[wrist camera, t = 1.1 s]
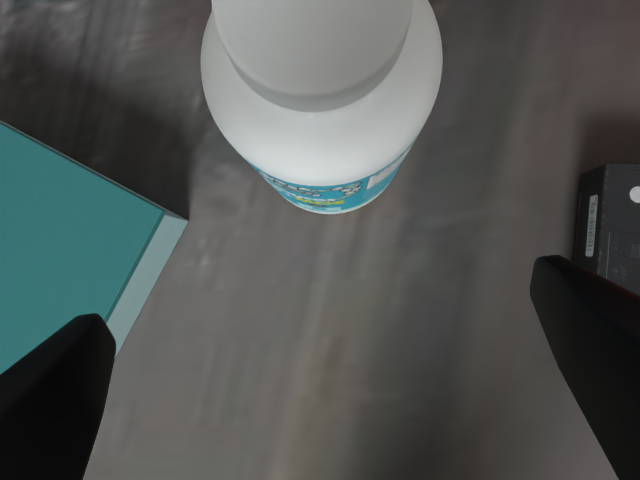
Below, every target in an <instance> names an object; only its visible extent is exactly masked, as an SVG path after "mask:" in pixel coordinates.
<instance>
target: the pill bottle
mask: <svg viewBox="0 0 640 480" xmlns="http://www.w3.org/2000/svg"><path fill="white" fill-rule="evenodd" d="M442 62H443V55H442V42H441V36H440V31H439V27H438V24H437V21H436V18H435V15H434V12H433V10H432V7H431V5H430V3H429V1H428V0H212V12H211V15H210V17H209V20H208V22H207V26H206V29H205V32H204V37H203V42H202V48H201V76H202V84H203V89H204V94H205V97H206V101H207V104H208V107H209V110H210V112H211V114H212V117H213V119H214V121H215V122H216V124H217V126H218V127H219V129H220V131H221V132H222V134H223V135H224V137H225V138H226V139H227V140H228V142H229V143H230V144H231V145H232V146H233V147H234V148H235V150H236V151H237V152H238V153H239V154H240V155H241V156H242V157H243V158H244V159H245V160H246V161H247V162H248V163H249V164H251V165H252V166H253V167H254V168H255V169H256V170H257V171H258V172H259V173H260V174H261V175H262V176H263V178H264V179H265V180H266V181H267V182H268V183H270V184H271V185H272V186H273V187H274V189H275V190H277V191H278V192H279V193H280V194H281V195H282V196H283V197H284V198H285V199H287V200H288V201H290V202H291V203H293V204H294V205H296V206H298V207H300V208H302V209H305V210H307V211H311V212H315V213H321V214H338V213H345V212H349V211H352V210H355V209H358V208H360V207H362V206H364V205H366V204H368V203H369V202H371V201H372V200H374V199H375V198H376V197H377V196H379V195H380V194H381V193H382V192H383V191H384V189H385V188H386V187H387V186H388V185H389V183H390V182H391V181H392V179H393V178H394V176H395V174H396V173H397V171H398V169H399V168H400V166H401V164H402V162H403V161H404V159H405V157H406V156H407V154H408V152H409V151H410V149H411V147H412V145H413V144H414V142H415V140H416V139H417V137H418V135H419V133H420V132H421V130H422V128H423V126H424V124H425V122H426V120H427V118H428V116H429V115H430V113H431V111H432V108H433V105H434V103H435V100H436V97H437V94H438V90H439V86H440V82H441V74H442Z"/></svg>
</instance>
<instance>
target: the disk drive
mask: <svg viewBox="0 0 640 480" xmlns="http://www.w3.org/2000/svg"><path fill="white" fill-rule="evenodd" d="M574 263H576V264H578V265H580V266H582V267H584V268H586V269H588V270H590V271H592V272H594V273H596V274H598V275H600V276H602V277H604V278H606V279H608V280H610V281H612V282H614V283H616V284H618V285H620V286H622V287H624V288H626V289H628V290H630V291H632V292H634V293H636V294H638V295H640V164H635V165H632V164H618V163H607V164H604V165H602V166H599V167H597V168H594V169H592V170H590V171H587V172H584V173H582V175H581V187H580V199H579V205H578V214H577V227H576V243H575V255H574Z"/></svg>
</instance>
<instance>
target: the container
mask: <svg viewBox="0 0 640 480" xmlns="http://www.w3.org/2000/svg"><path fill="white" fill-rule="evenodd" d="M187 223H188V220H186V219H184V218H182V217H181V216H179V215H177V214H175V213H173V212H171V211H169V210H168V209H166V208H164V207H162V206H160V205H158V204H156V203H154V202H153V201H151V200H149V199H147V198H145V197H143V196H141V195H140V194H138V193H136V192H134V191H132V190H130V189H128V188H126V187H125V186H123V185H121V184H119V183H117V182H115V181H113V180H112V179H110V178H108V177H106V176H104V175H102V174H100V173H98V172H97V171H95V170H93V169H91V168H89V167H87V166H85V165H84V164H82V163H80V162H78V161H76V160H74V159H72V158H70V157H69V156H67V155H65V154H63V153H61V152H59V151H57V150H55V149H54V148H52V147H50V146H48V145H46V144H44V143H42V142H41V141H39V140H37V139H35V138H33V137H31V136H29V135H27V134H26V133H24V132H22V131H20V130H18V129H16V128H14V127H13V126H11V125H9V124H7V123H5V122H2V121H0V374H2V373H3V372H4V371H6V370H7V369H8V368H9V367H11V366H12V365H13V364H15V363H16V362H17V361H19V360H20V359H21V358H23V357H24V356H25V355H26V354H28V353H29V352H30V351H32V350H33V349H34V348H36V347H37V346H38V345H39V344H41V343H42V342H43V341H45V340H46V339H47V338H49V337H50V336H51V335H52V334H54V333H55V332H56V331H58V330H59V329H60V328H62V327H63V326H64V325H65V324H67V323H68V322H69V321H71V320H72V319H73V318H75V317H76V316H78V315H83V314H91V313H97V314H99V315H100V316H101V317H102V318H103V320H104V321H105V323H106V325H107V326H108V328H109V330H110V332H111V333H112V335H113V337H114V338H115V341H116V354H115V358H116V356H117V354H118V352H119V350H120V348H121V347H122V345H123V343H124V341H125V339H126V337H127V335H128V333H129V332H130V330H131V328H132V326H133V324H134V322H135V320H136V318H137V317H138V315H139V313H140V311H141V309H142V307H143V305H144V303H145V302H146V300H147V298H148V296H149V294H150V292H151V290H152V288H153V287H154V285H155V283H156V281H157V279H158V277H159V275H160V273H161V272H162V270H163V268H164V266H165V264H166V262H167V260H168V258H169V257H170V255H171V253H172V251H173V249H174V247H175V245H176V243H177V242H178V240H179V238H180V236H181V234H182V232H183V230H184V228H185V227H186V225H187ZM114 360H115V359H114Z"/></svg>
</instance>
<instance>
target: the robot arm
mask: <svg viewBox="0 0 640 480" xmlns="http://www.w3.org/2000/svg"><path fill="white" fill-rule="evenodd" d="M530 296H531V300H532V302H533V305H534V308H535V310H536V313H537V315H538V318H539V320H540V323H541V325H542V328H543V330H544V333H545V335H546V338H547V340H548V343H549V345H550V348H551V350H552V353H553V355H554V358H555V360H556V362H557V365H558V367H559V369H560V371H561V373H562V375H563V377H564V379H565V381H566V382H567V384H568V386H569V388H570V390H571V392H572V393H573V395H574V397H575V399H576V401H577V403H578V405H579V406H580V408H581V410H582V412H583V414H584V416H585V418H586V419H587V421H588V423H589V425H590V427H591V429H592V431H593V432H594V434H595V436H596V438H597V440H598V442H599V444H600V445H601V447H602V449H603V451H604V453H605V455H606V457H607V458H608V460H609V462H610V464H611V466H612V468H613V469H614V471H615V473H616V475H617V477H618V479H619V480H640V295H638V294H636V293H634V292H632V291H630V290H628V289H626V288H624V287H622V286H620V285H618V284H616V283H614V282H612V281H610V280H608V279H606V278H604V277H602V276H600V275H598V274H596V273H594V272H592V271H590V270H588V269H586V268H584V267H582V266H580V265H578V264H576V263H574V262H572V261H570V260H568V259H566V258H564V257H562V256H560V255H550V256H542V257H539V258H537V259H536V260H535V263H534V267H533V273H532V279H531V285H530ZM115 354H116V341H115V338H114V337H113V335H112V333H111V332H110V330H109V328H108V326H107V325H106V323H105V321H104V320H103V318H102V317H101V316H100V315H99V314H97V313H91V314H83V315H78V316H76V317H75V318H73V319H72V320H71V321H69V322H68V323H67V324H65V325H64V326H63V327H62V328H60V329H59V330H58V331H56V332H55V333H54V334H52V335H51V336H50V337H49V338H47V339H46V340H45V341H43V342H42V343H41V344H39V345H38V346H37V347H36V348H34V349H33V350H32V351H30V352H29V353H28V354H26V355H25V356H24V357H23V358H21V359H20V360H19V361H17V362H16V363H15V364H13V365H12V366H11V367H9V368H8V369H7V370H6V371H4V372H3V373H2V374H0V480H83V477H84V474H85V470H86V467H87V464H88V461H89V458H90V455H91V452H92V449H93V445H94V442H95V439H96V436H97V433H98V430H99V426H100V423H101V419H102V416H103V412H104V407H105V403H106V398H107V393H108V388H109V383H110V378H111V374H112V369H113V364H114V359H115Z"/></svg>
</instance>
